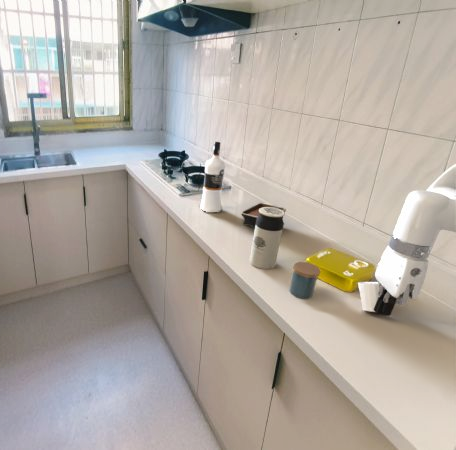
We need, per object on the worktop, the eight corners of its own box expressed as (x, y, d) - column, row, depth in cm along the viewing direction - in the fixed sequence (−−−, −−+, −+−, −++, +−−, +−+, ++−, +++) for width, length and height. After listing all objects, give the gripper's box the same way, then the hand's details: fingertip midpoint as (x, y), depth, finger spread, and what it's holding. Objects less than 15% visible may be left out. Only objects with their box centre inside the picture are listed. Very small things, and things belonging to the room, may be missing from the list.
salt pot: (309, 287, 97) (315, 262, 94) (316, 301, 91) (323, 275, 88) (285, 285, 97) (291, 260, 94) (291, 298, 91) (297, 273, 88)
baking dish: (234, 230, 136) (236, 208, 131) (259, 213, 146) (262, 193, 141) (265, 245, 127) (269, 222, 122) (290, 226, 137) (294, 205, 132)
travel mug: (264, 255, 113) (273, 205, 106) (280, 267, 107) (291, 214, 99) (244, 259, 110) (252, 208, 103) (260, 271, 104) (270, 217, 96)
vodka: (210, 204, 157) (217, 139, 145) (225, 211, 150) (233, 142, 138) (195, 208, 152) (201, 140, 140) (210, 215, 145) (217, 144, 133)
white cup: (355, 310, 86) (353, 282, 87) (365, 307, 90) (363, 281, 91) (387, 313, 81) (384, 283, 82) (396, 310, 85) (393, 282, 86)
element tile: (326, 257, 113) (329, 245, 111) (373, 278, 102) (378, 264, 100) (301, 270, 105) (304, 257, 103) (349, 294, 94) (354, 279, 92)
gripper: (450, 265, 68) (416, 336, 75) (407, 233, 81) (381, 296, 89) (412, 261, 68) (381, 332, 76) (375, 230, 82) (352, 293, 89)
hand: (381, 312), depth 82 cm, fingers closed
